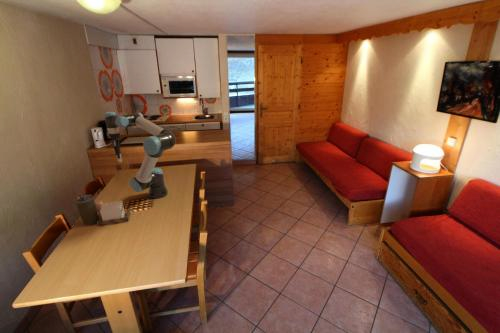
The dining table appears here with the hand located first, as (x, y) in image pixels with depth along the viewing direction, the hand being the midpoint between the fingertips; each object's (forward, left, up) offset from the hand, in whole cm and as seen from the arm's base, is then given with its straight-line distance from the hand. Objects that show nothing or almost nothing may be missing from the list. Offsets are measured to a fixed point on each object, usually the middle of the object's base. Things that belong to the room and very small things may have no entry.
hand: (120, 161), depth 198 cm
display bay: (+4, +36, -29) cm, 46 cm away
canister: (+19, +34, -30) cm, 49 cm away
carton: (+4, +37, -30) cm, 47 cm away
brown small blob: (+16, +20, -30) cm, 39 cm away
